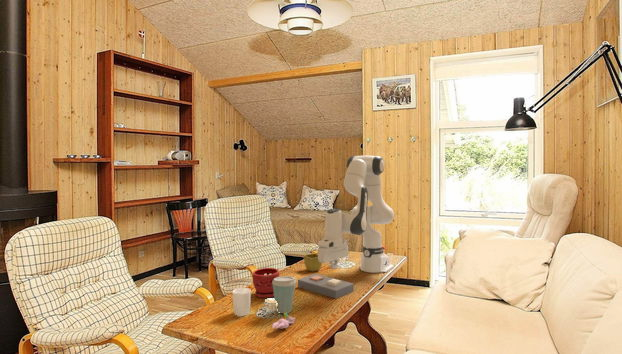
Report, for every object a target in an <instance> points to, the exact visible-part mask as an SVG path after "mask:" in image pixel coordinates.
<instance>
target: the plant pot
mask: <svg viewBox="0 0 622 354" xmlns="http://www.w3.org/2000/svg"><path fill="white" fill-rule="evenodd" d="M277 277H280V270H279V269H278V268H274V267H263V268H258V269H256V270H255V269H254V271H252V282H253V286H254V289H255V293H254V294H255V295H256V296H257V297H259V298H263V299H267V298H266V297H269V298H273V297H274V291H273V284H272V281H273V279H274V278H277Z"/></svg>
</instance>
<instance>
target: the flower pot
mask: <svg viewBox="0 0 622 354" xmlns="http://www.w3.org/2000/svg"><path fill="white" fill-rule="evenodd" d="M303 261H304V266H305V268H306V270H307V271H309V272H317V271H319V270H320V269H321V267H322V264H323V263H320V262H319V261H318V253H309V254H304V255H303Z"/></svg>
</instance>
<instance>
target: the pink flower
mask: <svg viewBox="0 0 622 354" xmlns="http://www.w3.org/2000/svg"><path fill="white" fill-rule="evenodd" d="M283 316H284V318H280V319H279V320H277V322H274V323H272V325H271V328H272V329H274V328H275V330H277V329H282V330H284V329H283V328H285V329H287V328H289V327H290V325H293V324H295V322H297V319H296V318H297V317H292V316H289V314H287V312H286V313H285V314H283Z"/></svg>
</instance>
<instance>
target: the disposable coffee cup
mask: <svg viewBox="0 0 622 354" xmlns="http://www.w3.org/2000/svg"><path fill="white" fill-rule="evenodd" d="M272 284H273V291H274V296H273V297H274V298H273V299H274V301H275V300H276V301H277V303H278V306H277V309H278V312H280V313H286V312H287V313H288V314H290V313H291V311H292V309H293V303H294V298H295V297H294V296H295V290H296V284H297V279H296V277H294V276H288V275H287V276H286V275H285V276H279V277H277V278H274V279H273V281H272ZM289 312H290V313H289Z"/></svg>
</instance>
